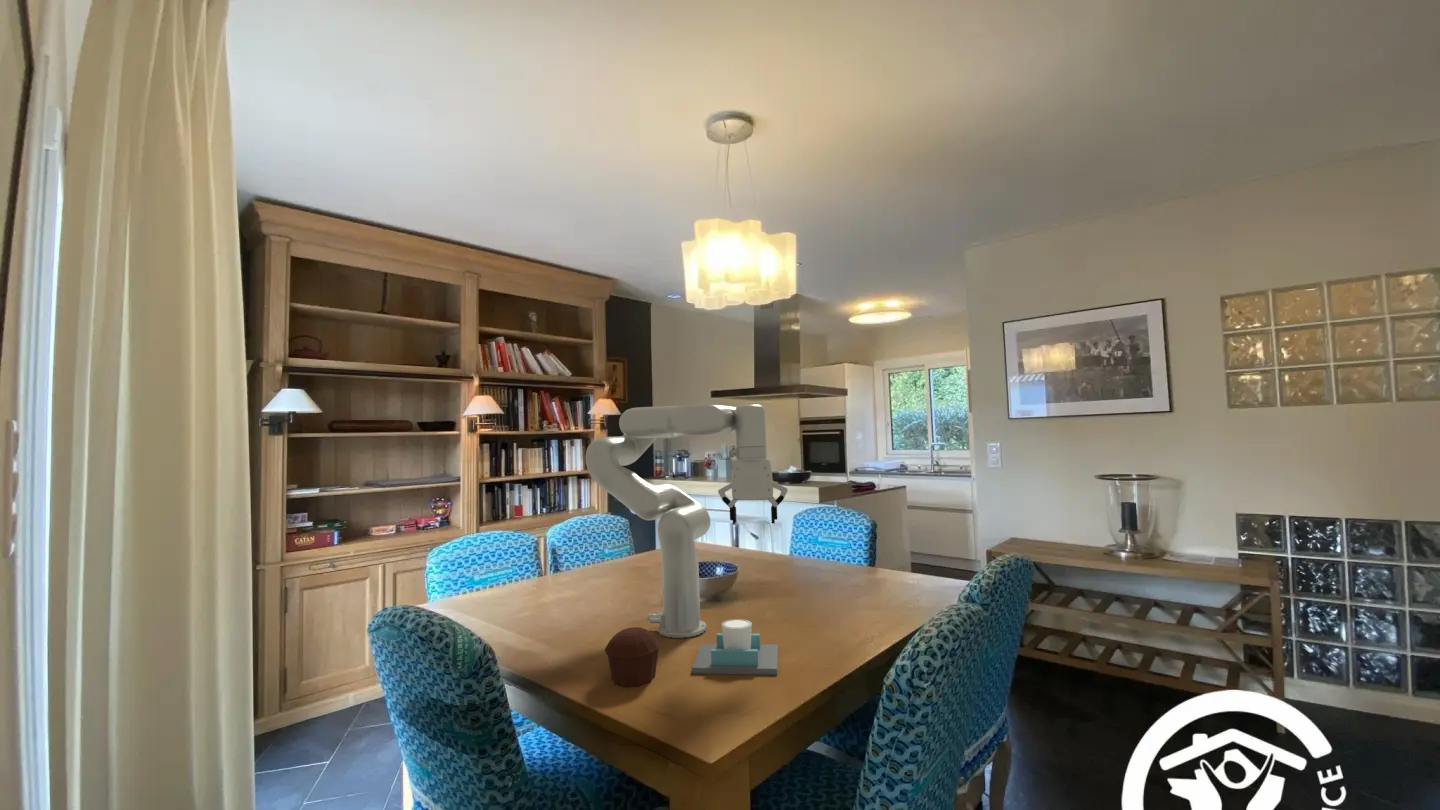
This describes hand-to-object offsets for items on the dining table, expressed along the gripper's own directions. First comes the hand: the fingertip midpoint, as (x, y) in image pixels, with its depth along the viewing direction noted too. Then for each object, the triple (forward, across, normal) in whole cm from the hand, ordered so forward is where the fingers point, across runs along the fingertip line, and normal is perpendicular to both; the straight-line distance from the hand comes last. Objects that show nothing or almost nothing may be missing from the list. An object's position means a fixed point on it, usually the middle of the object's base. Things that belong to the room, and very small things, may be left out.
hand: (753, 523), depth 144 cm
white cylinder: (+27, -4, -14) cm, 31 cm away
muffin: (+29, -25, -24) cm, 45 cm away
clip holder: (+28, -4, -14) cm, 32 cm away
